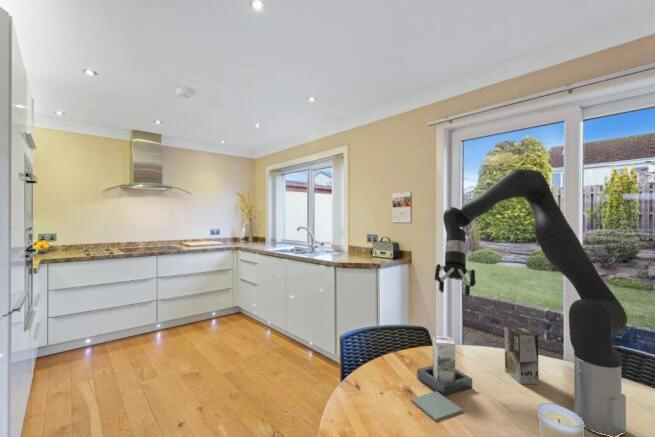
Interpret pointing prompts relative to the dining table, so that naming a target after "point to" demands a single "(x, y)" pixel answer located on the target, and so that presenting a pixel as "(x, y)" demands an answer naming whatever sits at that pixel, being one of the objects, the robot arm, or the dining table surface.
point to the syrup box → (443, 359)
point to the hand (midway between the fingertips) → (454, 294)
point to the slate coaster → (436, 405)
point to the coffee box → (521, 354)
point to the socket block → (444, 389)
